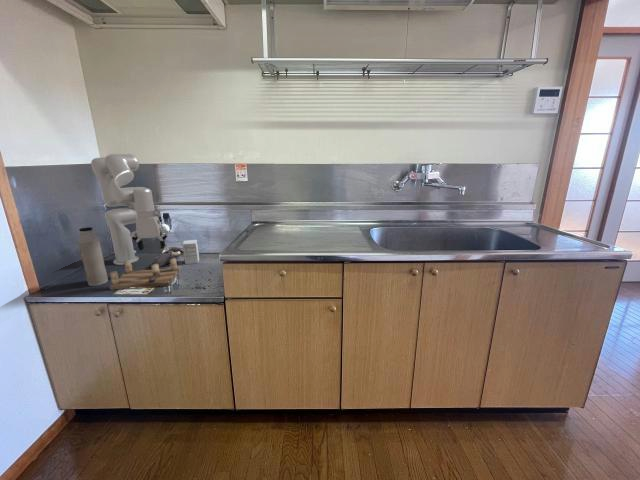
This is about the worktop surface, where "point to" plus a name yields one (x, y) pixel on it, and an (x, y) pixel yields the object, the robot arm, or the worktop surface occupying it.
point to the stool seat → (143, 277)
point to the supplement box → (190, 251)
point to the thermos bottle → (92, 257)
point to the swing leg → (154, 272)
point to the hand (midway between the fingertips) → (152, 248)
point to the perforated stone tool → (164, 258)
